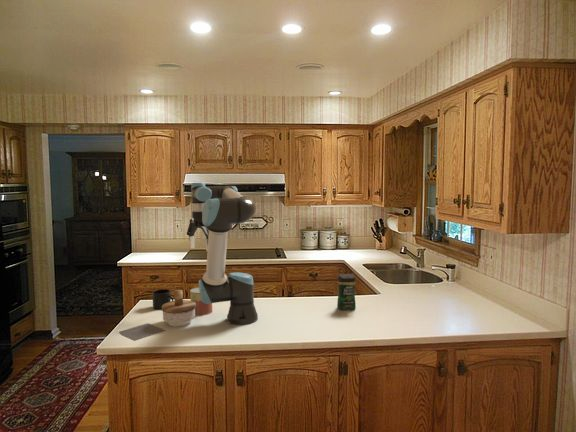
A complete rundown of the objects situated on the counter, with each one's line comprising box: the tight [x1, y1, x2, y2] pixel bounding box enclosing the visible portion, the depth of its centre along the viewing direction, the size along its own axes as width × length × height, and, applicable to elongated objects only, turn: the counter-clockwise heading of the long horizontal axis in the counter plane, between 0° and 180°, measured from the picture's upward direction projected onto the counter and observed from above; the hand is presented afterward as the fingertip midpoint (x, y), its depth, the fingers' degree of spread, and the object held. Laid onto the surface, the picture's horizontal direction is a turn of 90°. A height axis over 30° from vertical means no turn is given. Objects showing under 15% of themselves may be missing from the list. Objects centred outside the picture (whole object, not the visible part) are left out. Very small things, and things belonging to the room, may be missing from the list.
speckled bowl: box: [162, 309, 196, 327], centre depth 203 cm, size 15×15×8 cm
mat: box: [118, 322, 167, 342], centre depth 192 cm, size 16×16×1 cm
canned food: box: [189, 287, 213, 316], centre depth 220 cm, size 11×11×12 cm
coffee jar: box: [336, 273, 357, 311], centre depth 222 cm, size 10×8×19 cm
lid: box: [161, 289, 196, 313], centre depth 202 cm, size 16×16×8 cm
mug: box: [151, 288, 174, 311], centre depth 229 cm, size 9×12×9 cm
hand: (200, 249), depth 230 cm, fingers open, 13 cm apart
